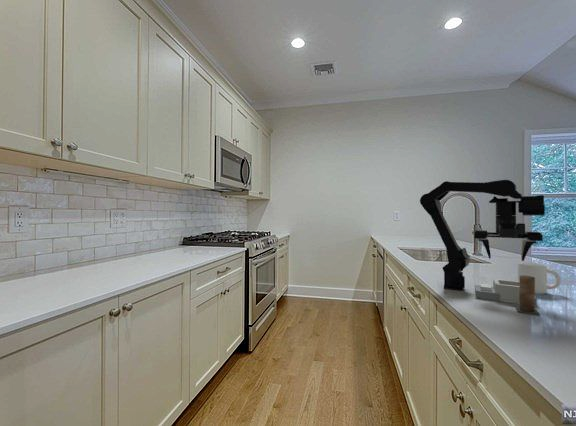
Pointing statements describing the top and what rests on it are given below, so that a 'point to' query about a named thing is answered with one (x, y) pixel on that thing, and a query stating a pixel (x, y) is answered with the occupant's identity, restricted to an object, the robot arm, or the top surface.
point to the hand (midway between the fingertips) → (505, 259)
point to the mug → (538, 275)
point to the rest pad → (526, 311)
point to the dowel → (527, 293)
